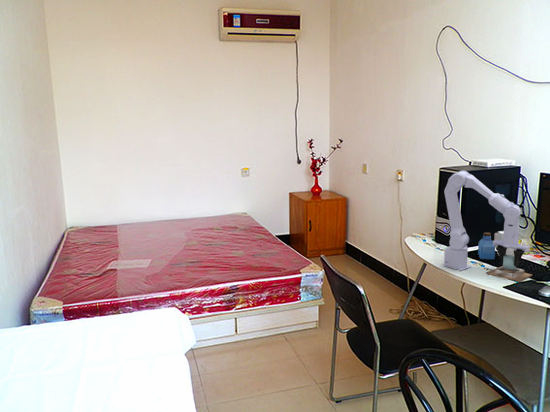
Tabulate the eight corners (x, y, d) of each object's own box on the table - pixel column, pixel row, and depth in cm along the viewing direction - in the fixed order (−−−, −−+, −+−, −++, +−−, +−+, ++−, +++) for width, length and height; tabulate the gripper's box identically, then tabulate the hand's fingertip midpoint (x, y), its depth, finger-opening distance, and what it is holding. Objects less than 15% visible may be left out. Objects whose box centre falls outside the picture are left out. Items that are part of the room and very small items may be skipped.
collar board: (486, 273, 191) (486, 268, 191) (499, 267, 197) (499, 263, 197) (519, 282, 180) (519, 277, 179) (532, 275, 186) (532, 270, 186)
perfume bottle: (480, 258, 211) (481, 234, 208) (477, 255, 217) (478, 231, 214) (494, 259, 209) (495, 235, 207) (491, 255, 215) (492, 231, 213)
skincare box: (509, 254, 215) (510, 230, 213) (513, 257, 211) (514, 233, 209) (496, 254, 216) (497, 231, 213) (500, 257, 212) (501, 233, 209)
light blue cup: (500, 267, 188) (501, 256, 188) (506, 264, 191) (507, 253, 190) (512, 270, 184) (512, 258, 184) (518, 267, 187) (518, 256, 186)
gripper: (489, 232, 189) (488, 262, 191) (524, 238, 177) (522, 270, 180) (498, 229, 193) (496, 258, 195) (532, 235, 181) (530, 266, 184)
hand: (509, 264), depth 188 cm, fingers closed on light blue cup, 5 cm apart
